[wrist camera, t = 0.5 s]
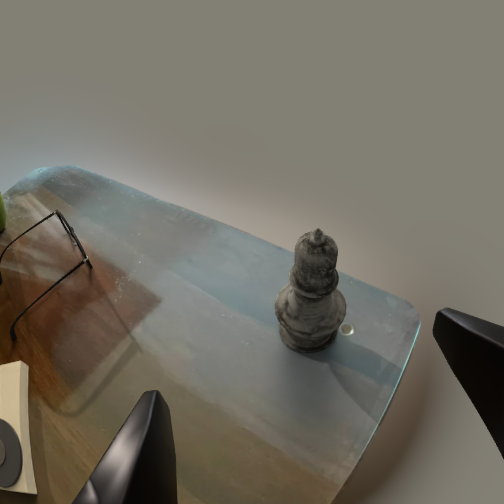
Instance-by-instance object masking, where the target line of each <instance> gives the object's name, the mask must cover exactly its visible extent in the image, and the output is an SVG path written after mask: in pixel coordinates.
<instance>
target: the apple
mask: <svg viewBox="0 0 504 504" xmlns="http://www.w3.org/2000/svg"><path fill="white" fill-rule="evenodd" d="M5 223H6V211H5V207H4V202H3V198H2V196H1V193H0V232H1V231H2V230H3V229H4V227H5Z"/></svg>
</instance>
